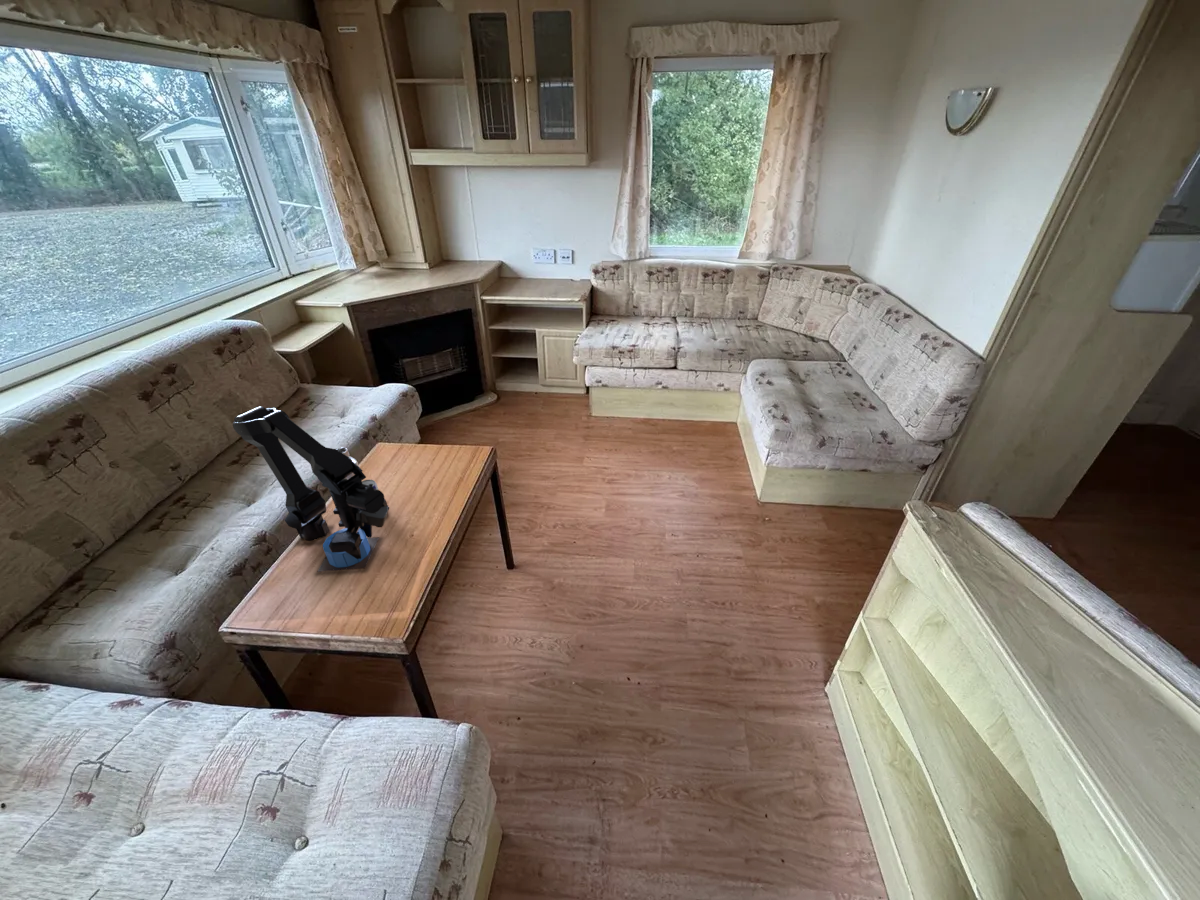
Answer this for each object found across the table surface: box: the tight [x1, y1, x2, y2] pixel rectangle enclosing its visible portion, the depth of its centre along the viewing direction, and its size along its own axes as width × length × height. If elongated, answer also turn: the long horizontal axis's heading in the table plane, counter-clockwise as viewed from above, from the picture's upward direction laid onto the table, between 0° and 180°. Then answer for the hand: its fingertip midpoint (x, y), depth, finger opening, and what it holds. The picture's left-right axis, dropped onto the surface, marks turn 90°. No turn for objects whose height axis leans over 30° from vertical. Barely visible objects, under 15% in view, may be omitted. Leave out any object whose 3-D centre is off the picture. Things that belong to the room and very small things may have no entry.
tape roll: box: [322, 527, 370, 568], centre depth 128 cm, size 10×10×5 cm
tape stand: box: [317, 536, 380, 573], centre depth 128 cm, size 12×12×5 cm
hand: (364, 547), depth 128 cm, fingers closed on tape roll, 8 cm apart
